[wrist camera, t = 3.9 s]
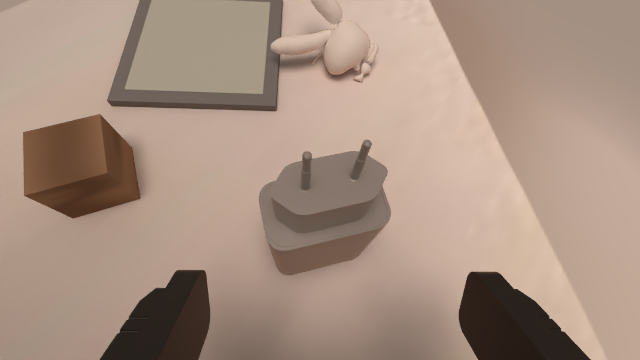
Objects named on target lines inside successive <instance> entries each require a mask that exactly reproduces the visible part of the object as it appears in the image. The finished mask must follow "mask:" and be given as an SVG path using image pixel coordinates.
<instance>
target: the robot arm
mask: <svg viewBox="0 0 640 360" xmlns="http://www.w3.org/2000/svg"><path fill="white" fill-rule="evenodd" d="M459 322H460V327H461V330H462V332H463V334H464V336H465V337H466V339H467V341H468V343H469V344H470V346H471V348H472V350H473V351H474V353H475V355H476V357H477V358H478V360H590V359H589V358H588V356H587V355H586V354H585V353H584V352H583V351H582V350H581V349H580V348H579V347H578V346H577V345H576V344H575V343H574V342H573V341H572V340H571V339H570V337H569V336H568V335H567V334H566V333H565V332H562V331H561V328H560V327H559V326H558V325H557V324H556V323H555V322H554V321H553V320H552V319H550V318H549V315H548V314H547V313H546V312H545V311H544V310H543V309H542V308H541V307H540V306H539V305H538V304H537V303H536V302H535V301H534V300H532V299H531V298H530V297H528V296H527V295H525V294H524V293H522V292H521V291H519V290H518V289H513V287H512V286H511V285H510V284H509V283H508V282H507V281H506V280H505V279H504V277H503V276H502V275H501V274H499V273H498V272H471V273H469V275H468V277H467V280H466V284H465V288H464V293H463V297H462V301H461V305H460V309H459ZM209 324H210V305H209V295H208V286H207V277H206V273H205V271H204V270H177V271H176V272H175V273H174V275H173V277H172V278H171V280H170V282H169V283H168V285H167V286H166V288H156V289H154V290H153V291H152V292H151V293H149V294H148V295H147V296H146V297H144V298H143V299H142V300H140V301H139V303H138V304H137V306H136V307H135V309H134V310H133V312H132V313H131V315H130V316H129V320H126V322H125V323H124V325H123V326H122V328H121V329H120V333H119V334H117V335H116V336H115V338H114V339H113V341H112V342H111V344H110V345H109V347H108V348H107V350H106V351H105V353H104V354H103V356H102V357H101V358H100V360H198V358H199V356H200V353H201V350H202V347H203V344H204V342H205V339H206V336H207V333H208V329H209Z"/></svg>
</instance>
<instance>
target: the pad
mask: <svg viewBox="0 0 640 360" xmlns="http://www.w3.org/2000/svg"><path fill="white" fill-rule="evenodd" d="M282 3H283V1H282V0H140V1H139V4H138V7H137V10H136V14H135V17H134V20H133V23H132V26H131V29H130V32H129V35H128V38H127V41H126V44H125V47H124V50H123V53H122V56H121V60H120V63H119V66H118V69H117V72H116V75H115V78H114V81H113V84H112V87H111V90H110V93H109V96H108V99H107V101H108V102H109V103H110V105H111V106H134V107H167V108H200V109H232V110H265V111H276V107H277V90H278V72H279V55H280V54H278V53H276V52H274V51H272V50H271V44H272V43H273V42H274V41H275V40H277V39H279V38H281V20H282Z"/></svg>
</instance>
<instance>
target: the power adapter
mask: <svg viewBox="0 0 640 360" xmlns="http://www.w3.org/2000/svg"><path fill="white" fill-rule="evenodd" d="M371 145H372V143H371V141H369V140H365V141H364V142H363V144H362V147H361V149H360V152H357V151H351V152H345V153H340V154H335V155H330V156H325V157H320V158H315V159H311V158H312V154H311V153H310V152H308V151H307V152H304V153H303V157H302V161H300V162H295V163H292V164H290V165H288V166H286V167H285V168H284V169H283V170H282V172H281V174H280V175H279V177H278V178H277V180H276V181H273V182H270V183H268V184H267V185H265V186H264V187H263V188H262V190H261V192H260V194H259V204H260V209H261V214H262V219H263V225H264V230H265V235H266V239H267V241H268V244H269V247H270V249H271V252H272V255H273V257H274V260H275V263H276V265H277V268H278V269H279V271H280V272H281V273H283V274H285V275H293V274H297V273H301V272H305V271H309V270H313V269H316V268H320V267H324V266H328V265H332V264H336V263H340V262H344V261H348V260H352V259H354V258H356V257H357V256H358V255H359V254H360V253H361V252H362V251H363V250H364V249H365V248H366V247H367V245H368V244H369V243H370V242H371V241H372V240H373V239H374V238H375V237H376V235H377V234H378V233H379V232H380V231H381V230H382V229H383V228H384V227H385V225H386V224H387V223H388V222H389V220H390V216H391V210H390V206H389V203H388V201H387V198H386V195H385V192H384V190H383V187H382V185H383V182H384V180H385V178H386V176H387V172H388V171H387V168H386V167H385V166H384V165H382V164H381V163H379V162H377V161H376V160H374V159H373V158H371V157H369V156H368V152H369V150H370V147H371Z"/></svg>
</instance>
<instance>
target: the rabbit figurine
mask: <svg viewBox="0 0 640 360" xmlns="http://www.w3.org/2000/svg"><path fill="white" fill-rule="evenodd" d="M311 2H312V4H313V5H314V6H315V8H316V9H317V11H318V12H319V13H320V14H321V15H322V16H323V17H324V18H325V19H326V20H327V21H328V22H330V23H331V24H336V23H338V24H337V28H335V29H334V30H333V31H332V33H331V29H329V30H324V31H320V32H317V33H313V34H307V35H289V36H283V37H281V38H279V39H277V40H275V41H274V42H273V43H272V44H271V50H272V51H274V52H276V53H278V54H285V55H299V54H304V53H308V52H311V51H314V50H317V49H318V48H320V47H321V46H322V45H324V44H325V43H326V45H325V49H324V62H325V66H326V68H327V70H328V71H329V72H330V73H331V74H333V75H339V74H342V73H344V72H346V71H347V70H349V69H350V68H354V69H355V71H359V70H360V63H361V61H362V59H363V60H365V59H366V58H367V54H368V51H369V48H370V39H369V37H368V35H367V33H366V32H365V31H364V30H363V28H361V27H360V26H359V25H358V24H356V23H354V22H351V21H347V22H346V21H341V19H342V9H341V7H340V5H339V3H338V2H337V1H336V0H311ZM326 41H327V42H326ZM378 50H379V47H378V45H377V44H376V43H374V47H373V49H372V51H371V53H370V55H369V57H368V59H367V62H368V63H369V64H370V63H372V62H373V61H374V59H375V57H376V55H377V53H378ZM321 54H322V52H321V51H320V53H319V54H318V56H317V57H316V58H315V60H314V61H313V65H314V64H315V62H316V61H317V60H318V58H319V57H320V55H321ZM368 63H363V64H362V66H361V74H360V75H358V76H355V77H354V79H355V80H357V81H360V82H363V75H364V74H367V73H369V72H370V71H371V67H370V66H369V64H368Z"/></svg>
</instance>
